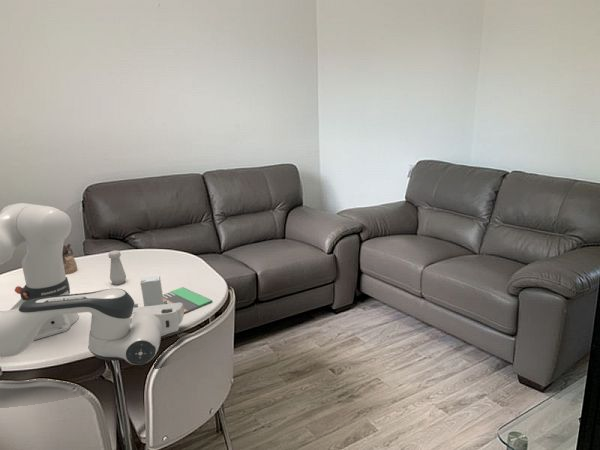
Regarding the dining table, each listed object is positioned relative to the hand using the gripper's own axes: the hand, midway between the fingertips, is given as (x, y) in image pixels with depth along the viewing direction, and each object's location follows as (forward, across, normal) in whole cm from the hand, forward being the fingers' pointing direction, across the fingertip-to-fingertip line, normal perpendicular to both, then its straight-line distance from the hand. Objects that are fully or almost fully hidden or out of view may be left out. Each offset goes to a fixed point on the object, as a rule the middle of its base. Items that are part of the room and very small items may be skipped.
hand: (151, 304), depth 142 cm
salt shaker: (+37, -16, -6) cm, 41 cm away
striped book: (+13, +8, -6) cm, 17 cm away
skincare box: (+7, 0, -6) cm, 9 cm away
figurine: (+56, -39, -6) cm, 69 cm away
